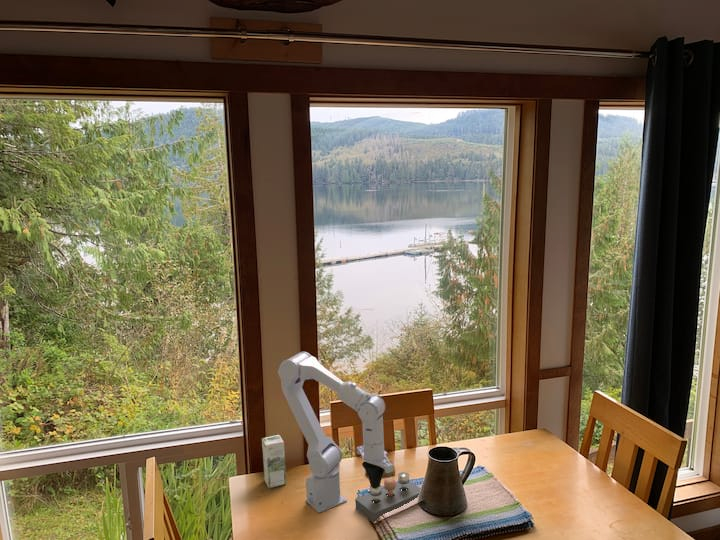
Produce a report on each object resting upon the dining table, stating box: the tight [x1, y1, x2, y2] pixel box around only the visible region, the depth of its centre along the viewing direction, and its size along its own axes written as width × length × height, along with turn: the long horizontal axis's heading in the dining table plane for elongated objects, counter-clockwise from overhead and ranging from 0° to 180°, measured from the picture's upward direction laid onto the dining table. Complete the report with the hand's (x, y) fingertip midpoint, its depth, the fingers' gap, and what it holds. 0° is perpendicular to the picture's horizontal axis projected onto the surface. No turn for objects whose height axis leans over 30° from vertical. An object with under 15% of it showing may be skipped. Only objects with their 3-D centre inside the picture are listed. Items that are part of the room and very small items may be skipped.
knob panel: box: [354, 480, 422, 523], centre depth 152 cm, size 18×9×3 cm, turn 124°
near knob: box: [369, 484, 382, 504], centre depth 149 cm, size 3×3×5 cm
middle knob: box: [383, 477, 396, 498], centre depth 151 cm, size 3×3×5 cm
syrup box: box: [261, 434, 287, 490], centre depth 166 cm, size 6×6×14 cm
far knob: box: [397, 471, 410, 492], centre depth 154 cm, size 3×3×5 cm
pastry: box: [364, 458, 396, 477], centre depth 170 cm, size 9×7×4 cm
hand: (375, 486), depth 148 cm, fingers closed, pressing on near knob
